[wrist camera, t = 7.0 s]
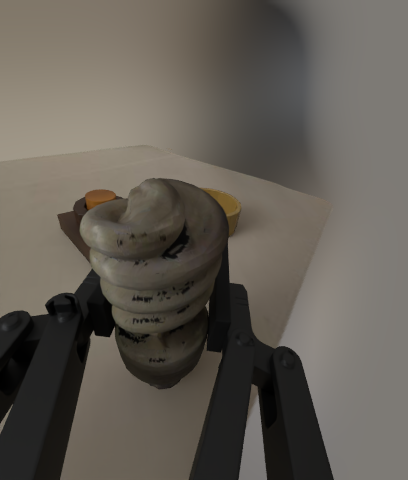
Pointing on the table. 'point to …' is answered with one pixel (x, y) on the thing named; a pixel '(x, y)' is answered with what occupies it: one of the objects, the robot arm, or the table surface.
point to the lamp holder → (227, 207)
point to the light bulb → (158, 273)
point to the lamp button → (98, 197)
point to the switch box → (76, 225)
